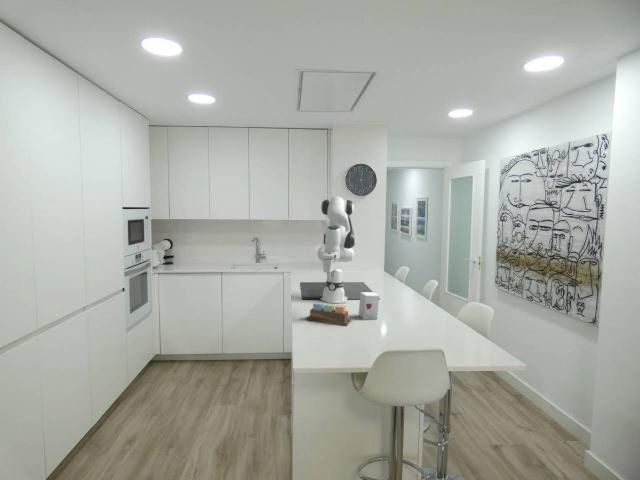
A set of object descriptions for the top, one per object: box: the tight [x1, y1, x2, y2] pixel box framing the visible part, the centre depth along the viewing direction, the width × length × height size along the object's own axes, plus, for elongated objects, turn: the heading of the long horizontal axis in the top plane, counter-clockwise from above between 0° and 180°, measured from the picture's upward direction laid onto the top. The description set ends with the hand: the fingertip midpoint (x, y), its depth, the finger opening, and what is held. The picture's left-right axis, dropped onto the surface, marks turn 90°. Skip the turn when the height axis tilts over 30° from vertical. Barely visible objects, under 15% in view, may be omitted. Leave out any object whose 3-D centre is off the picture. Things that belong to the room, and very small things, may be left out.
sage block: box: [324, 302, 336, 313], centre depth 230 cm, size 5×5×5 cm
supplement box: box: [358, 291, 380, 321], centre depth 241 cm, size 9×9×15 cm
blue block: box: [312, 301, 325, 311], centre depth 232 cm, size 5×5×5 cm
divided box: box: [305, 307, 352, 327], centre depth 230 cm, size 10×24×6 cm, turn 73°
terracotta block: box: [335, 304, 347, 314], centre depth 228 cm, size 5×5×5 cm
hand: (330, 278), depth 228 cm, fingers open, 6 cm apart
